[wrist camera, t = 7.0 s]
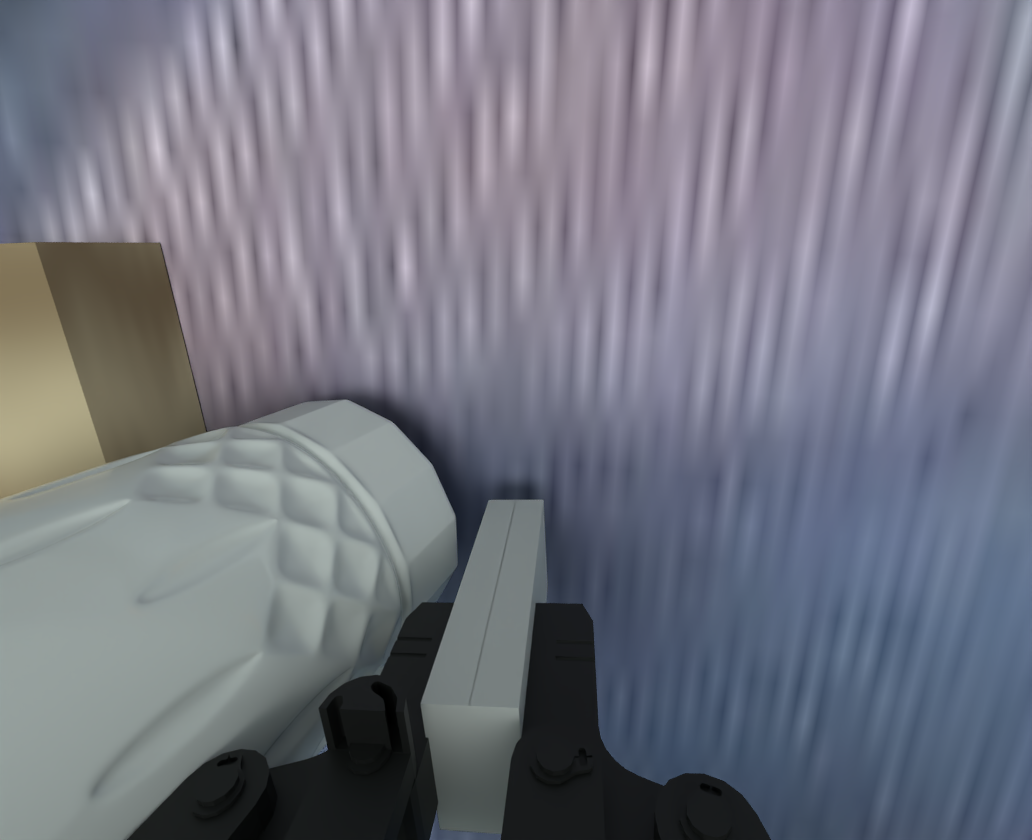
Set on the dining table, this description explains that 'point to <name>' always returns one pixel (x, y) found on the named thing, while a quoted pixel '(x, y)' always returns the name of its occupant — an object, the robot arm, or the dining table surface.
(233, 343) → the dining table surface
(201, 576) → the white cup
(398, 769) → the robot arm
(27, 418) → the brass metal channel
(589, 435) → the dining table surface
